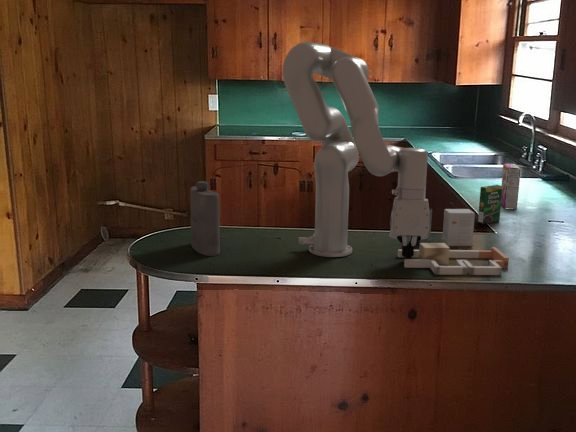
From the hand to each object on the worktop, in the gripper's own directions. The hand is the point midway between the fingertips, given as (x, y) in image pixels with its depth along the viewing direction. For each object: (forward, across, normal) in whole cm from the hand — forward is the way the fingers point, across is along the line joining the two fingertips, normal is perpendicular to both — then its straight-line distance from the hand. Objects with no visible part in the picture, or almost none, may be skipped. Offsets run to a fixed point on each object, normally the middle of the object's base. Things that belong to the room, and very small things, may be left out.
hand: (407, 258), depth 172 cm
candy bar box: (+1, +55, +74) cm, 92 cm away
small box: (+1, +19, +19) cm, 27 cm away
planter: (+1, +9, +22) cm, 24 cm away
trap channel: (+1, +12, -3) cm, 13 cm away
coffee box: (+1, +38, +47) cm, 61 cm away
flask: (+1, -58, +10) cm, 59 cm away
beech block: (+1, +7, 0) cm, 7 cm away
